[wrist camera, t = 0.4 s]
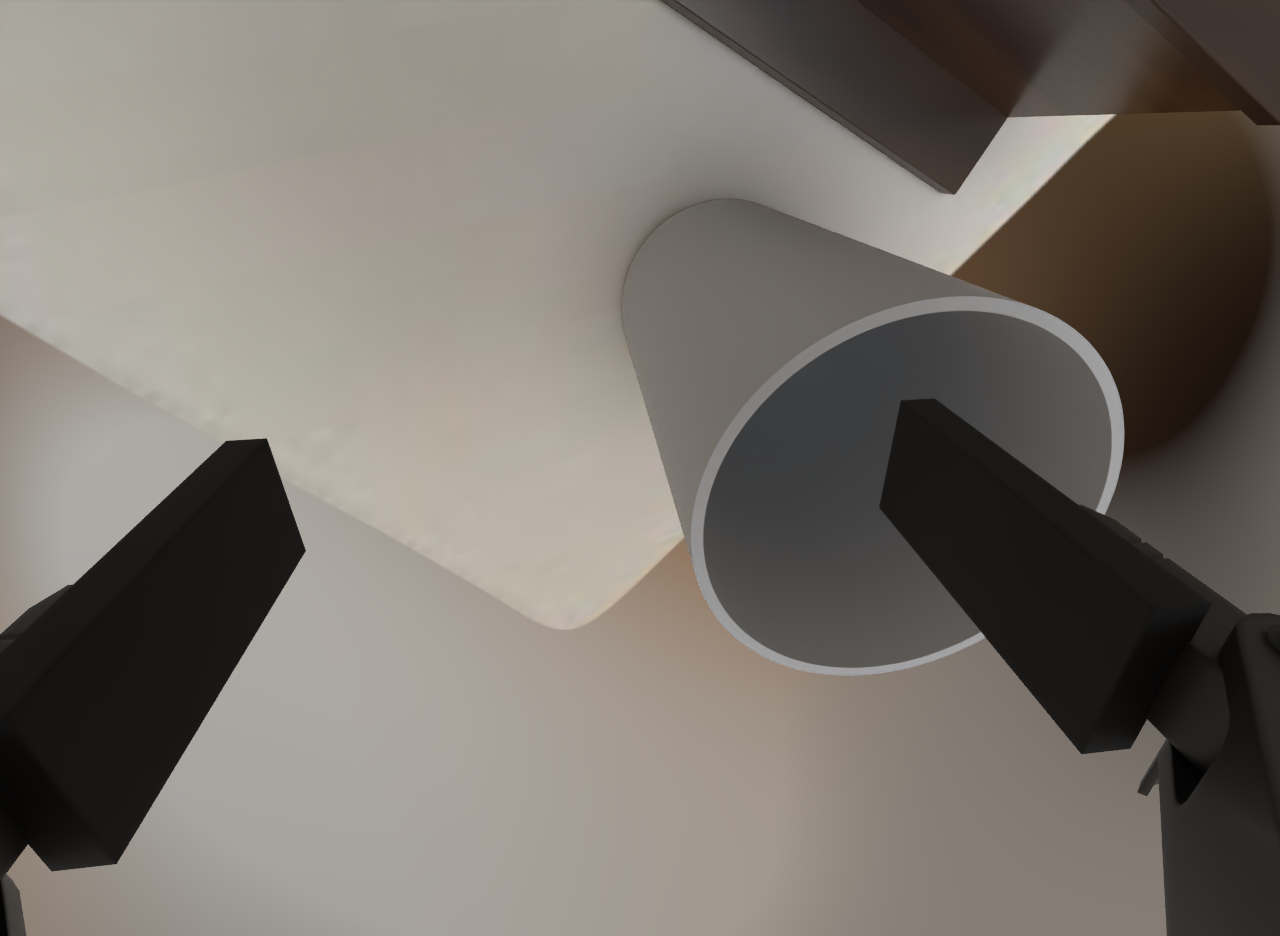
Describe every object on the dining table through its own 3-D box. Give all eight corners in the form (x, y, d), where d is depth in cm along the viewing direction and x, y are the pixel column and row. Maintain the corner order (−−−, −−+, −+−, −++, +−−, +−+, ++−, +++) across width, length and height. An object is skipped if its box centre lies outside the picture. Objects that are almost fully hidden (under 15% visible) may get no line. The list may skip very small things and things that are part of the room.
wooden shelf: (715, -159, 29) (871, -460, 14) (1018, 85, 35) (1346, 53, 21) (649, -8, 32) (725, -130, 17) (944, 195, 38) (1189, 237, 23)
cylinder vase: (833, 206, 37) (1209, 312, 16) (791, 399, 43) (1022, 671, 21) (628, 188, 36) (728, 279, 14) (613, 391, 42) (667, 679, 20)
